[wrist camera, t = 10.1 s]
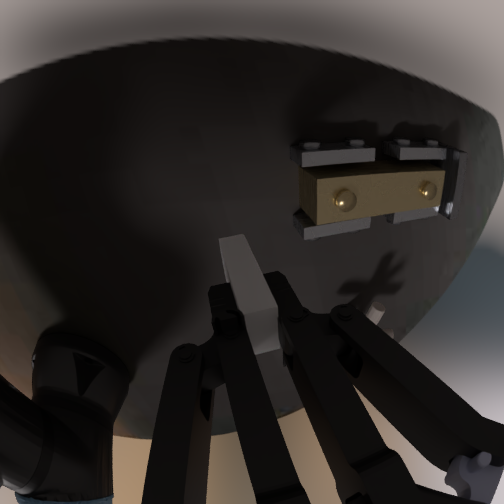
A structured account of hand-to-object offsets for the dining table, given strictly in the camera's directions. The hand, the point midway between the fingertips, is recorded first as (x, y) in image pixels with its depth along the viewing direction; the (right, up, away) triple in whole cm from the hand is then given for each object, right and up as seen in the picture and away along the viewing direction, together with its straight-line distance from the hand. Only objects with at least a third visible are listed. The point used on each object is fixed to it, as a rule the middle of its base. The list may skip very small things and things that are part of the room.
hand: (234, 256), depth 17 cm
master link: (+13, +8, +10) cm, 18 cm away
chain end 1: (+19, +9, +10) cm, 23 cm away
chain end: (+8, +7, +9) cm, 14 cm away
